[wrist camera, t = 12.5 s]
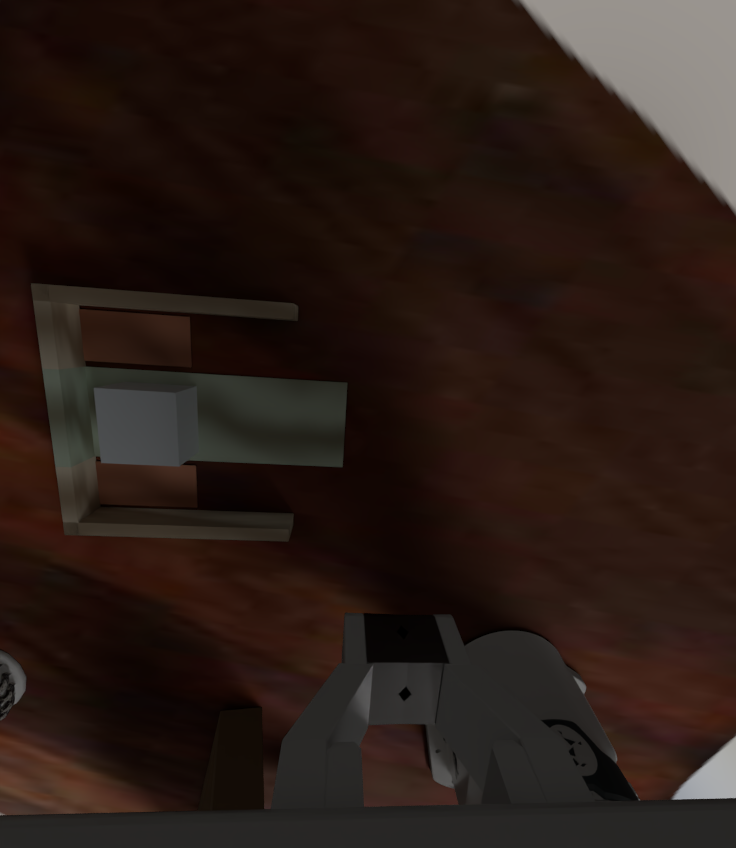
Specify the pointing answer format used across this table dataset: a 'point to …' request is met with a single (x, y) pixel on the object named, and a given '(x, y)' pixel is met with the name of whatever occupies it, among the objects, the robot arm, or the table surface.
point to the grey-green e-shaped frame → (216, 403)
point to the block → (147, 423)
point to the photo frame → (235, 763)
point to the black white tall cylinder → (10, 683)
